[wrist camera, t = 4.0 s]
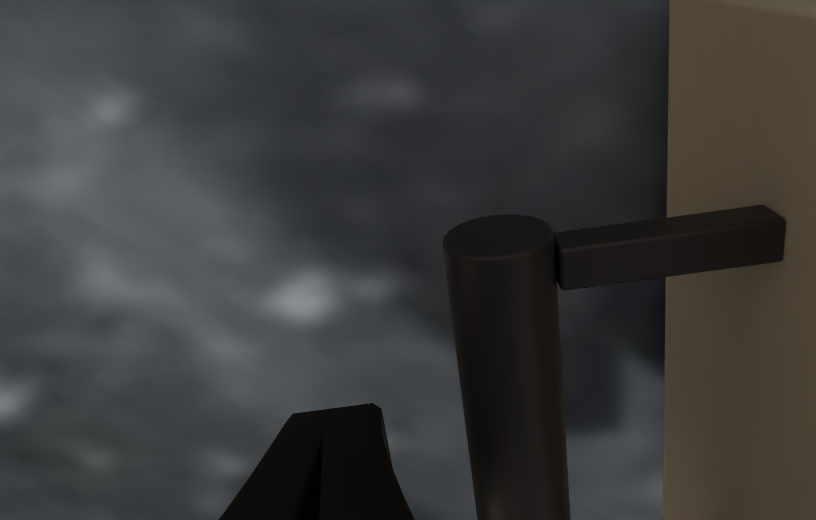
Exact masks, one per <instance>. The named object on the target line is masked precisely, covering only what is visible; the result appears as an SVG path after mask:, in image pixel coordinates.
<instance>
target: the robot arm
mask: <svg viewBox="0 0 816 520" xmlns="http://www.w3.org/2000/svg"><path fill="white" fill-rule="evenodd" d="M219 520H414V518H413V515H412V513H411V511H410V509H409V507H408V505H407V503H406V501H405V498H404V496H403V493H402V491H401V488H400V486H399V484H398V481H397V479H396V476H395V474H394V471H393V468H392V462H391V457H390V452H389V446H388V441H387V436H386V431H385V425H384V420H383V415H382V409H381V408H379V407H378V406H376V405H375V404H373V403H370V404H363V405H355V406H347V407H340V408H332V409H325V410H317V411H310V412H302V413H294V414H292V415H291V417H290V418H289V419H288V420H287V422H286V423H285V425H284V426H283V428H282V429H281V431H280V432H279V434H278V435H277V437H276V438H275V440H274V441H273V443H272V444H271V446H270V447H269V449H268V450H267V452H266V453H265V455H264V456H263V458H262V459H261V461H260V462H259V464H258V465H257V467H256V468H255V470H254V471H253V473H252V474H251V476H250V477H249V478H248V480H247V481H246V483H245V484H244V485H243V487H242V488H241V490H240V491H239V492H238V494H237V495H236V497H235V498H234V499H233V501H232V502H231V504H230V505H229V506H228V508H227V509H226V510H225V512H224V513H223V515H222V516H221V517H220V519H219Z"/></svg>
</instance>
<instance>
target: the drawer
mask: <svg viewBox="0 0 816 520" xmlns="http://www.w3.org/2000/svg"><path fill="white" fill-rule="evenodd" d="M443 252H444V260H445V267H446V275H447V283H448V291H449V299H450V307H451V315H452V323H453V330H454V338H455V346H456V354H457V362H458V370H459V378H460V385H461V393H462V401H463V409H464V417H465V425H466V433H467V441H468V448H469V456H470V464H471V472H472V480H473V488H474V496H475V503H476V511H477V519H478V520H570V505H569V488H568V470H567V452H566V435H565V417H564V400H563V382H562V364H561V347H560V329H559V311H558V294H557V282H558V284H559V286H560V288H561V289H562V290H573V289H580V288H588V287H595V286H603V285H610V284H618V283H625V282H633V281H640V280H648V279H655V278H663V277H666V311H665V386H664V461H663V520H816V0H670V11H669V86H668V161H667V218H660V219H653V220H645V221H638V222H631V223H623V224H616V225H609V226H601V227H594V228H587V229H579V230H572V231H565V232H557V233H554V231H553V229H552V227H551V226H550V225H549V224H548V223H547V222H545V221H543V220H541V219H538V218H535V217H530V216H524V215H493V216H486V217H481V218H477V219H473V220H469V221H466V222H464V223H461V224H459V225H457V226H455V227H454V228H452V229H451V230H449V231H448V232H447V233H446V235H445V236H444V239H443Z"/></svg>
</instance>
